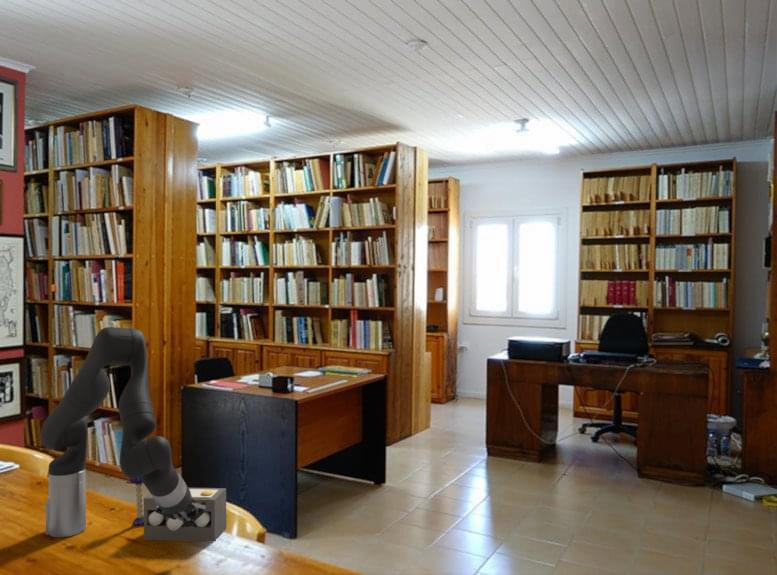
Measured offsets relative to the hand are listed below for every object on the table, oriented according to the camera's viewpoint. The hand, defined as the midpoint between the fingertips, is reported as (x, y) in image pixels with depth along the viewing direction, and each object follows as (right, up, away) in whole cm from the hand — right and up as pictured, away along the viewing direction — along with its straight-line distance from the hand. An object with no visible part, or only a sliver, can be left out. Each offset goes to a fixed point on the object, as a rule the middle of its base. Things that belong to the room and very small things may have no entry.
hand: (191, 522), depth 153 cm
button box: (-6, -8, +13) cm, 17 cm away
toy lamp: (-22, -9, +20) cm, 31 cm away
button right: (0, -4, +11) cm, 11 cm away
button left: (-12, -4, +12) cm, 18 cm away
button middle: (-6, -4, +8) cm, 11 cm away
